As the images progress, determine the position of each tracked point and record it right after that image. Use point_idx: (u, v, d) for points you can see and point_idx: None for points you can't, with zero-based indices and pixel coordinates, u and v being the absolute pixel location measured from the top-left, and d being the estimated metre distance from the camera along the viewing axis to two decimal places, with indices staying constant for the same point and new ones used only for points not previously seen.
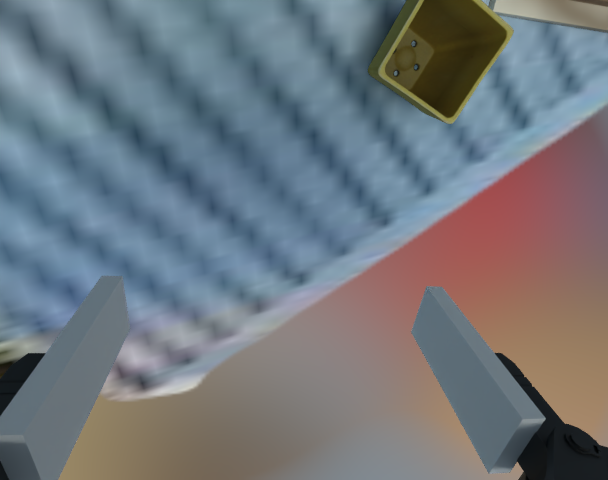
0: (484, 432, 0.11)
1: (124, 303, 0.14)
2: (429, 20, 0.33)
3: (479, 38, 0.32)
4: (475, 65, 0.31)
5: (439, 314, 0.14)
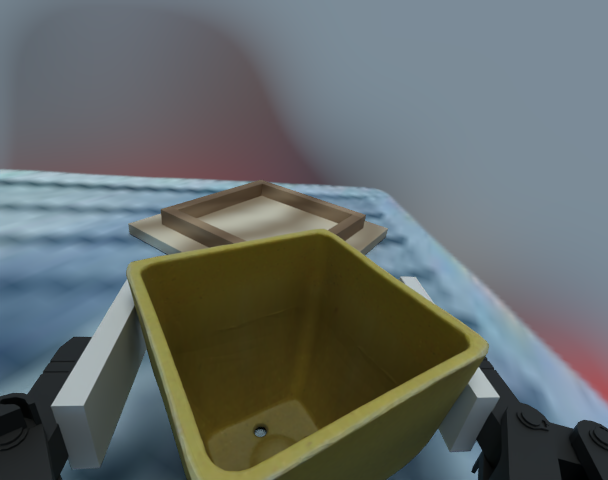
0: None
1: None
2: (234, 375, 0.16)
3: (311, 298, 0.17)
4: (353, 295, 0.15)
5: None
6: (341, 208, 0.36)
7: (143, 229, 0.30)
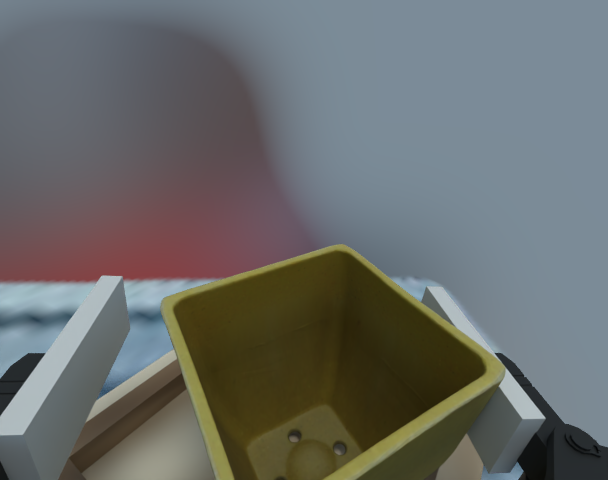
0: (484, 432, 0.11)
1: (124, 303, 0.14)
2: (267, 386, 0.17)
3: (334, 310, 0.18)
4: (374, 310, 0.15)
5: (439, 314, 0.14)
6: None
7: None
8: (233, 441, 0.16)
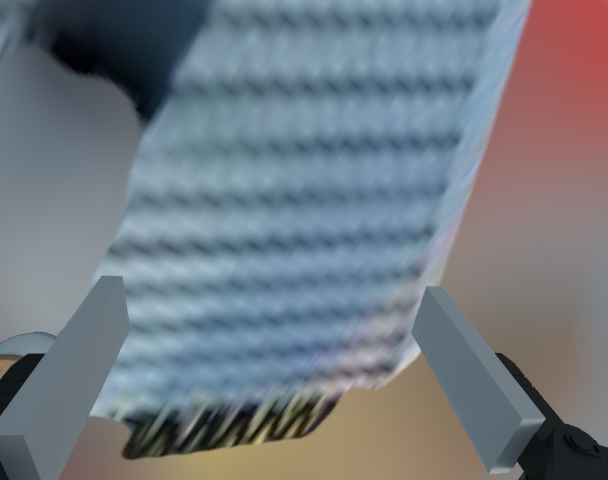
0: (484, 432, 0.11)
1: (124, 303, 0.14)
2: None
3: None
4: None
5: (439, 314, 0.14)
6: None
7: None
8: None
